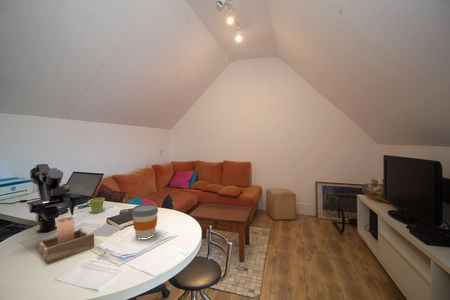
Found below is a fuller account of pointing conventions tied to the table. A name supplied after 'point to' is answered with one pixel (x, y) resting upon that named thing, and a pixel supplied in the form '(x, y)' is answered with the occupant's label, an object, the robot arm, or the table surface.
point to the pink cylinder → (65, 230)
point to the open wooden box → (65, 246)
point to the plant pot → (96, 204)
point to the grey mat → (106, 230)
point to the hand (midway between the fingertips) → (60, 217)
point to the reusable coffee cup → (145, 220)
